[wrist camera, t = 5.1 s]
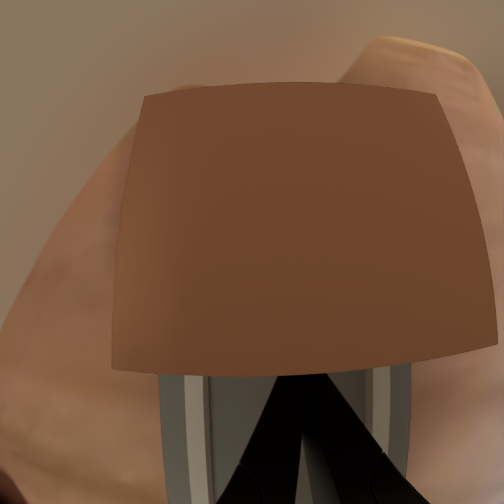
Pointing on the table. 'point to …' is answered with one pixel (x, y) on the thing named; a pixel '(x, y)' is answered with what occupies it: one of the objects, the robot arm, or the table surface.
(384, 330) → the brown block
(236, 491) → the robot arm
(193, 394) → the guide track
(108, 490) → the table surface
